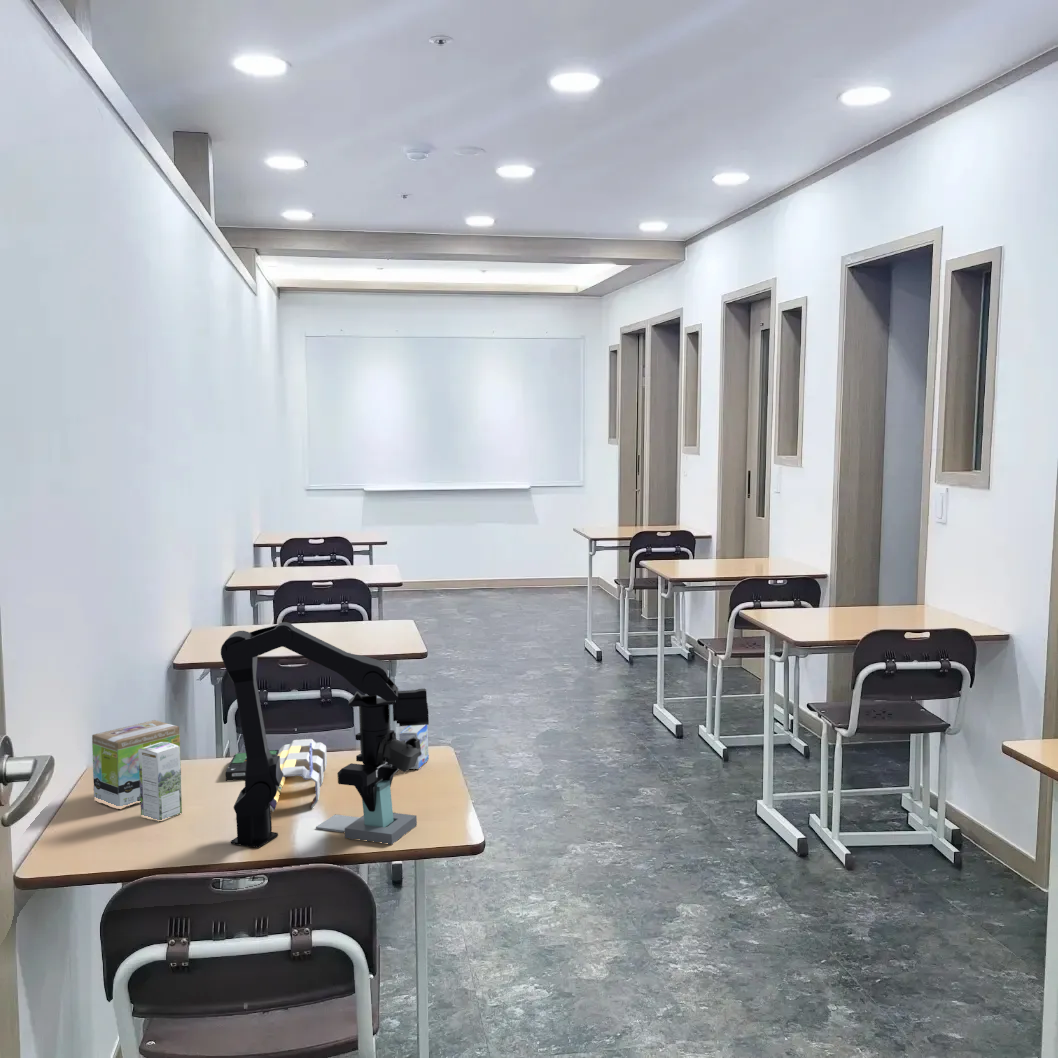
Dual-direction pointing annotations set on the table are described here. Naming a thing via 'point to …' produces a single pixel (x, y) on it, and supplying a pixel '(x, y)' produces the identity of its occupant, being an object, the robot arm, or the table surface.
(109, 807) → the table surface
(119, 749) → the tea box
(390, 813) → the plug
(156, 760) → the syrup box
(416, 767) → the medicine box
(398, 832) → the socket
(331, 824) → the pad
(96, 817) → the table surface
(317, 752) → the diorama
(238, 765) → the disk drive
